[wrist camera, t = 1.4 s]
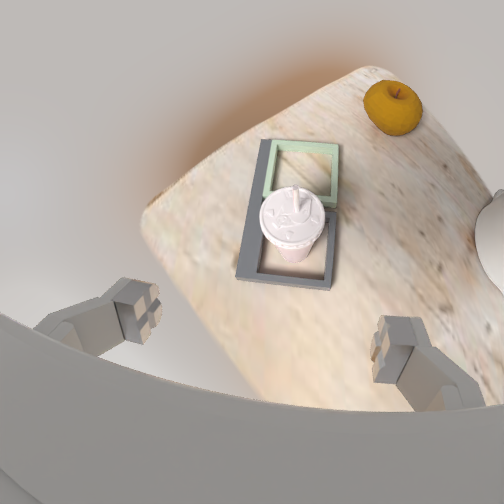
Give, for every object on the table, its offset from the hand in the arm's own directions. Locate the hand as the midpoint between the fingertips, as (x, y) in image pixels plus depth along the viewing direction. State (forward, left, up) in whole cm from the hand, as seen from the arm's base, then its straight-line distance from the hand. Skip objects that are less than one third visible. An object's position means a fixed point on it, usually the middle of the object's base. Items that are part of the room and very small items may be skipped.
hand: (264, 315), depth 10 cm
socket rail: (+1, -17, -25) cm, 30 cm away
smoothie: (+1, -11, -25) cm, 28 cm away
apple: (-12, -33, -25) cm, 44 cm away
